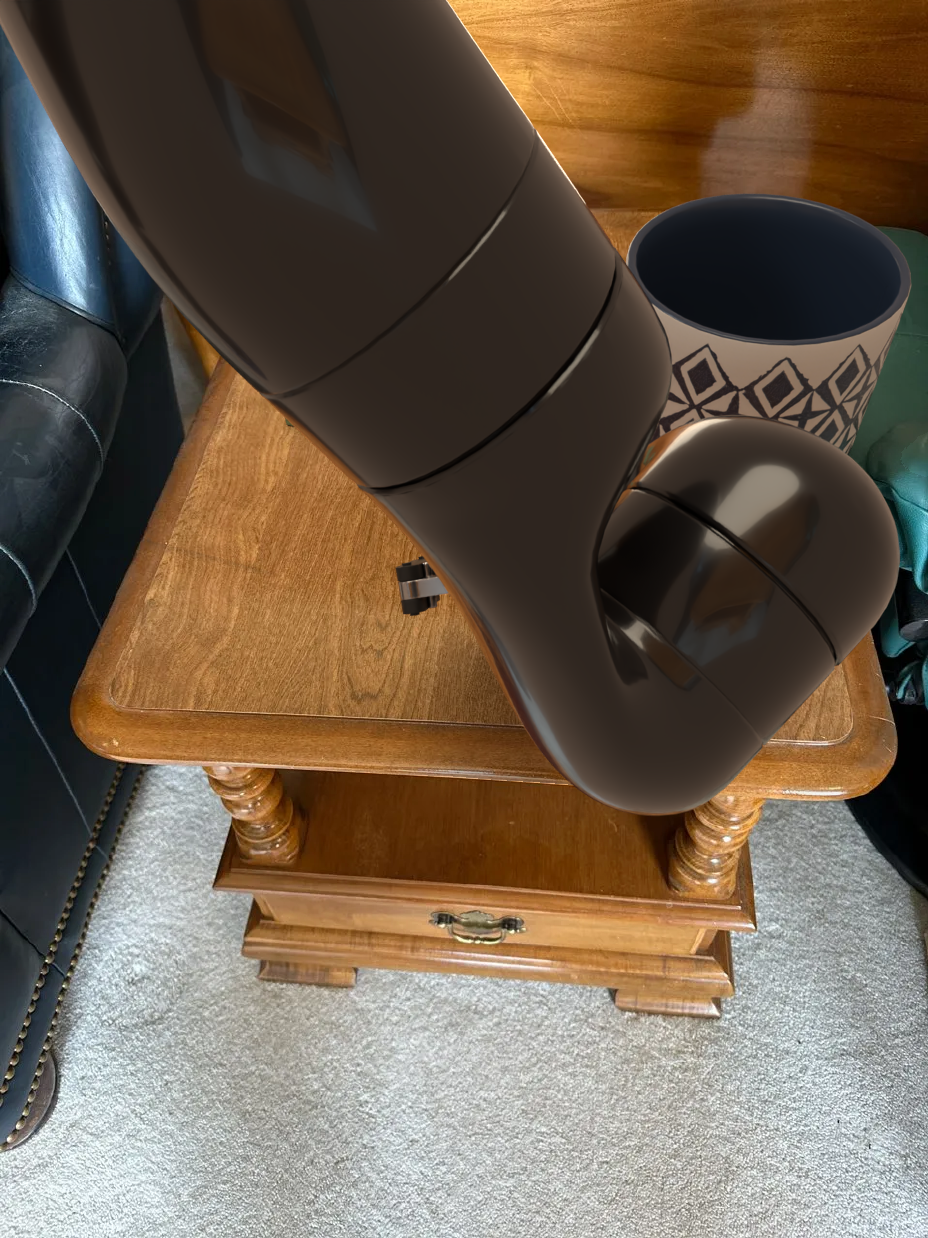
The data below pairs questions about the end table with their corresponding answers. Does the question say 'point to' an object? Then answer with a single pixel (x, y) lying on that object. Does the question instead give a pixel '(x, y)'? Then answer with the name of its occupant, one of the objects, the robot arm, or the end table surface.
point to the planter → (771, 309)
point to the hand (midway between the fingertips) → (500, 562)
